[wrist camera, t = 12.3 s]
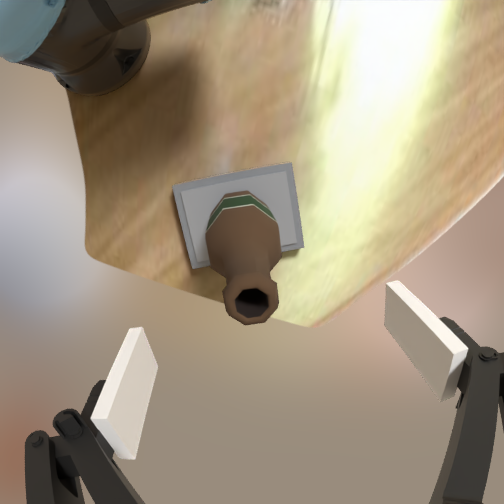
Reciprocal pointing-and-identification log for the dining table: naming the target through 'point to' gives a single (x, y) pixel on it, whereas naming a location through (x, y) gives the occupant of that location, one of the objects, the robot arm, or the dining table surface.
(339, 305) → the dining table surface
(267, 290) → the beer bottle
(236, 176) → the slate stand
